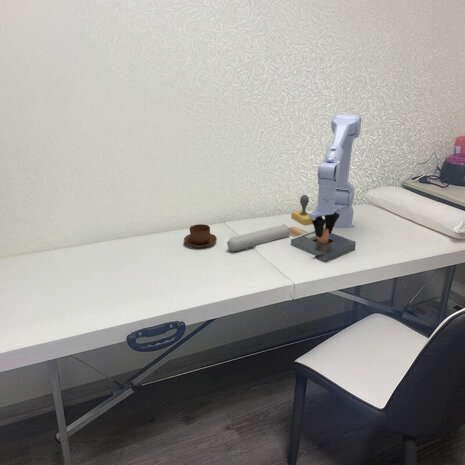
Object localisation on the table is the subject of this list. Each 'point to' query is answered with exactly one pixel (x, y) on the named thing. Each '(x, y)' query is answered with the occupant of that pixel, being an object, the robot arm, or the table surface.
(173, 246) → the table surface
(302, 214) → the rubber stamp
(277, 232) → the tube
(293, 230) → the tan square tile
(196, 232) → the cup and saucer
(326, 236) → the peg
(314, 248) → the grey square slab
